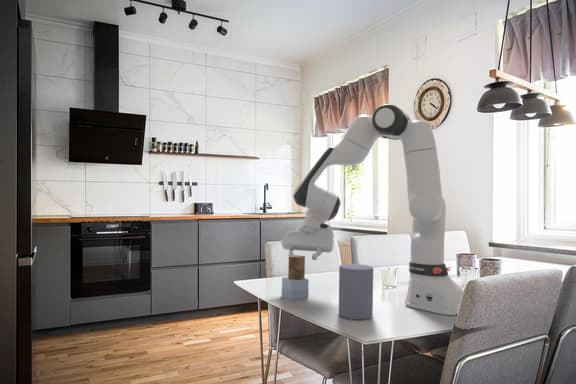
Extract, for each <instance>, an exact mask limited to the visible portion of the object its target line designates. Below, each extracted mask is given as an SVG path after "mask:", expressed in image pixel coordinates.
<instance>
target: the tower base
mask: <svg viewBox="0 0 576 384" xmlns="http://www.w3.org/2000/svg"><path fill="white" fill-rule="evenodd" d="M309 292H310V291H309V288H308V290H298V291H290V290H287V289H285V288H283V287H282V286H281V297H282V298H285V299H287V300H289V301H290V300H291V301H297V300H299V301H300V300H304V299H309V294H310V293H309Z"/></svg>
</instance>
